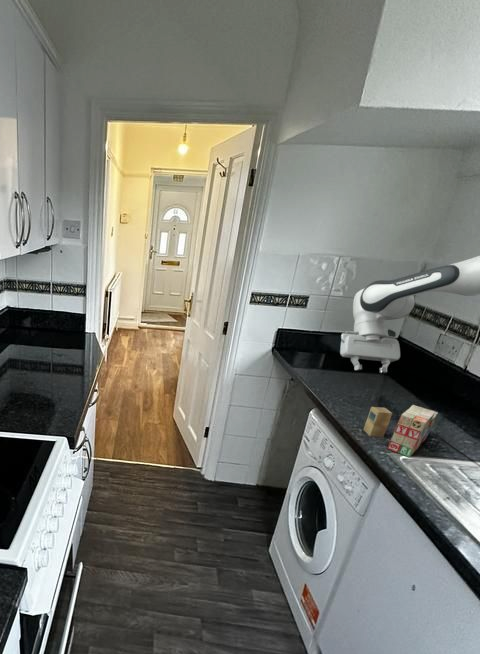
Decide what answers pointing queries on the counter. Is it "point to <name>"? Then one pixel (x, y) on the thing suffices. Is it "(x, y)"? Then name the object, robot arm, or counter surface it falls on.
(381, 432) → the birch block
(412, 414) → the stack of blocks
